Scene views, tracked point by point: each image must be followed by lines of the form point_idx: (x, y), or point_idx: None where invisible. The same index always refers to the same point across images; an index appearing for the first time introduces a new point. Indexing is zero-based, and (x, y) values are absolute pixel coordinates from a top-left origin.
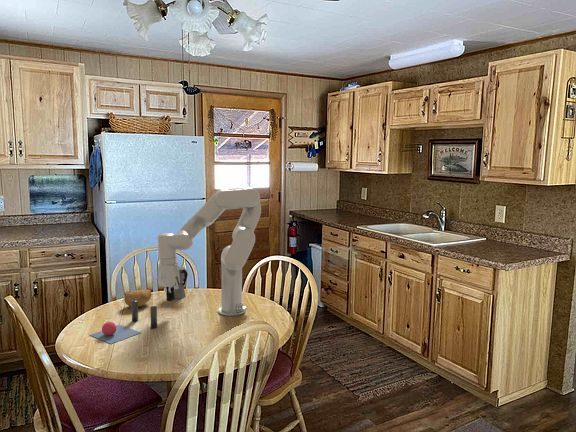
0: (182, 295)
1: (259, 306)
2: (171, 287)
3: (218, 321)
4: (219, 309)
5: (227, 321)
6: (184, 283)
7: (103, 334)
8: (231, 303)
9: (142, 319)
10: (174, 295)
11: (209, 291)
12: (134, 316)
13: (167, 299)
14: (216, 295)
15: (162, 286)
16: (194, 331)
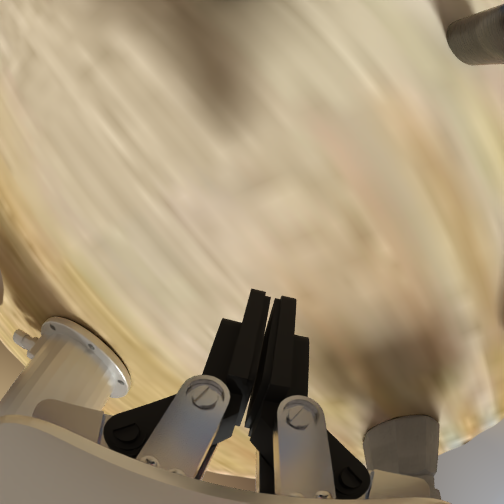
0: (367, 443)
1: None
2: (418, 466)
3: (34, 255)
4: (103, 357)
5: (21, 267)
6: None
7: None
8: (31, 360)
9: (440, 81)
10: (399, 434)
11: None
12: (475, 14)
13: (280, 304)
14: (254, 458)
15: (398, 475)
16: (17, 101)
